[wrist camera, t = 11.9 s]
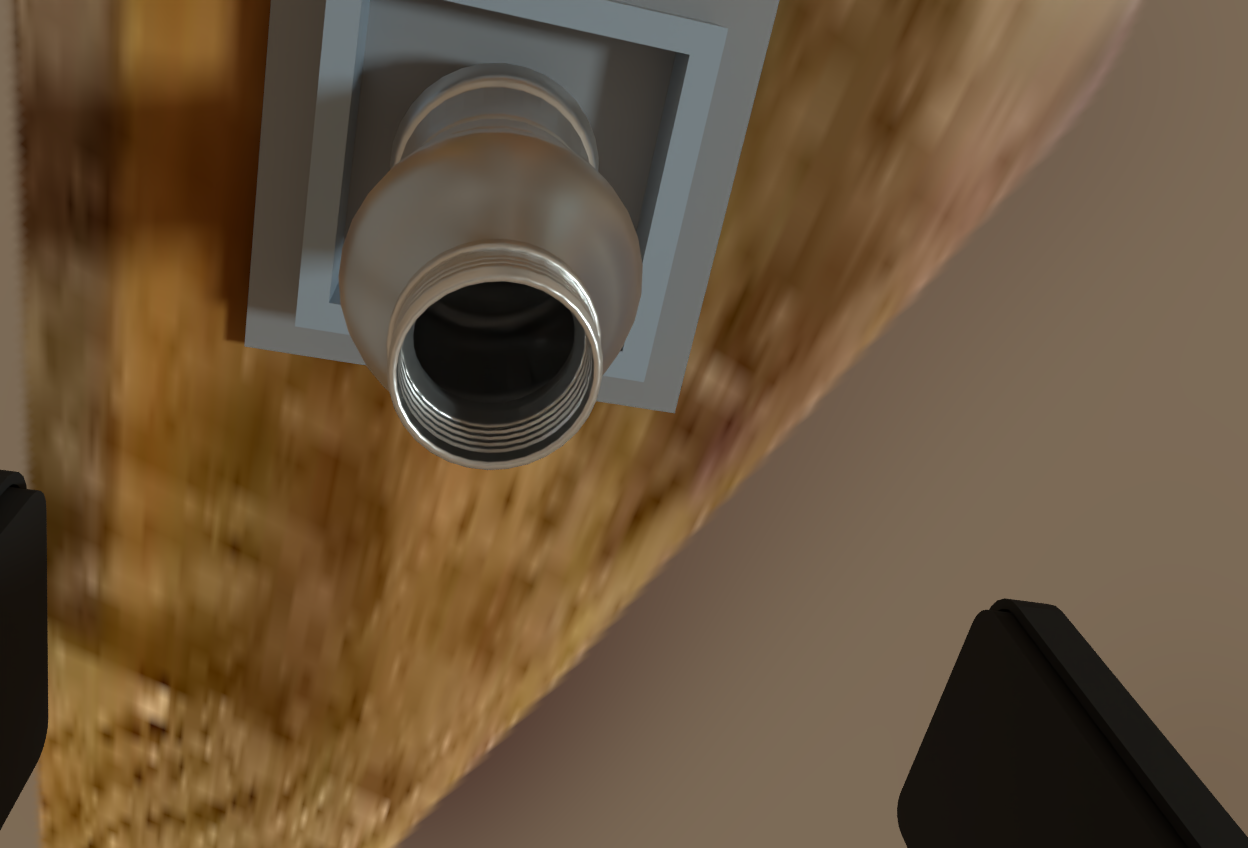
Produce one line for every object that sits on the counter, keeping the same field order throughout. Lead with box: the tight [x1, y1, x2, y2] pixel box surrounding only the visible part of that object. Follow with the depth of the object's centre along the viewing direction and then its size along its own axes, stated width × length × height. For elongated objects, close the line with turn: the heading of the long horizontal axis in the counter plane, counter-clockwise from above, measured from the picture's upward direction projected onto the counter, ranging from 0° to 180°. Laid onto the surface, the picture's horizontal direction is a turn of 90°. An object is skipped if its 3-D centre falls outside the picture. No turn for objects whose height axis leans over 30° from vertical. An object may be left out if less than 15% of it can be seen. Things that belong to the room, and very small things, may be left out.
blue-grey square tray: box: [245, 0, 779, 413], centre depth 35 cm, size 16×16×3 cm
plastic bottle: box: [338, 63, 643, 470], centre depth 27 cm, size 6×7×20 cm
